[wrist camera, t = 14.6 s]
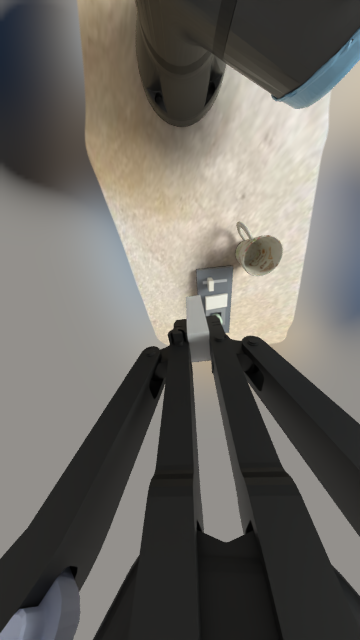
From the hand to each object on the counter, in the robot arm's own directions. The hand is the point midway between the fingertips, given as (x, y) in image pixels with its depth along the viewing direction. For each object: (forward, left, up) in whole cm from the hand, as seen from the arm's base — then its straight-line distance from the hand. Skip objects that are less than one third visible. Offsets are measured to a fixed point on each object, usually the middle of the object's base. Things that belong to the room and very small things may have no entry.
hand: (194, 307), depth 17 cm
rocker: (+12, +7, -28) cm, 31 cm away
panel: (+14, +7, -31) cm, 35 cm away
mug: (-2, +15, -31) cm, 35 cm away
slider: (+6, +6, -29) cm, 30 cm away
